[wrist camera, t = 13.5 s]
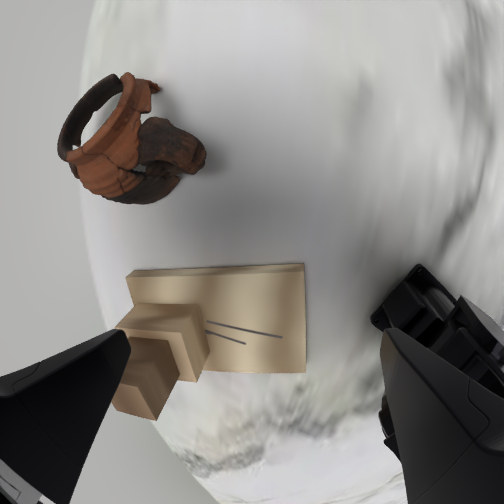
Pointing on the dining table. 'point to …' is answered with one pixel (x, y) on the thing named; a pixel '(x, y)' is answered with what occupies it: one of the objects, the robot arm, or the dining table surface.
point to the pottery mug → (128, 144)
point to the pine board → (238, 312)
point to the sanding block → (159, 355)
